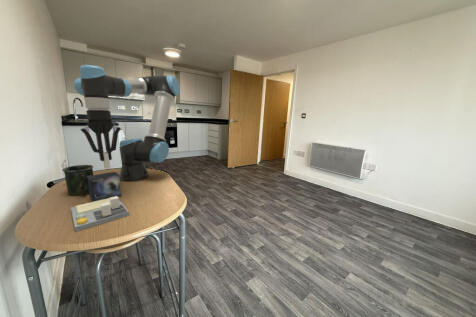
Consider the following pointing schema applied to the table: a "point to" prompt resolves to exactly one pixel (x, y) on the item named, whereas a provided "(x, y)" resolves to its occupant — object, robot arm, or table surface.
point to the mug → (78, 179)
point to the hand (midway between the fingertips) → (107, 167)
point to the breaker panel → (95, 214)
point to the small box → (104, 186)
